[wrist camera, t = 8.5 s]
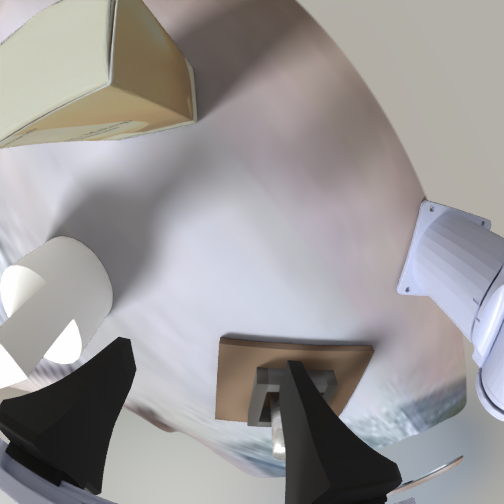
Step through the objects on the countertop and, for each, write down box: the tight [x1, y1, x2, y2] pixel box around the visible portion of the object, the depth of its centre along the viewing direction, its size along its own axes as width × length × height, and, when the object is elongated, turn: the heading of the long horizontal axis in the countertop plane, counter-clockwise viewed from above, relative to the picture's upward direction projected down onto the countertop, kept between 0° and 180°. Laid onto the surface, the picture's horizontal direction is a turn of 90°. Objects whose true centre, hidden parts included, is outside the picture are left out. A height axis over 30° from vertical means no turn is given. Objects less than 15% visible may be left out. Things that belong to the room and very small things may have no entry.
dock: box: [215, 338, 374, 427], centre depth 23 cm, size 14×12×3 cm
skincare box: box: [0, 0, 198, 149], centre depth 10 cm, size 6×4×12 cm
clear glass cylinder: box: [270, 392, 286, 460], centre depth 21 cm, size 4×4×7 cm
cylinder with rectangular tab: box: [0, 236, 113, 388], centre depth 15 cm, size 9×9×12 cm
